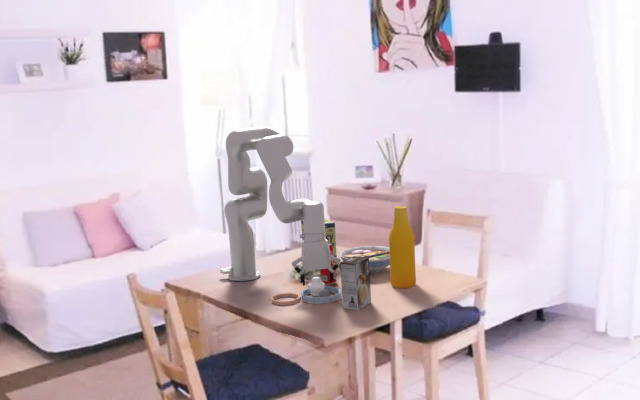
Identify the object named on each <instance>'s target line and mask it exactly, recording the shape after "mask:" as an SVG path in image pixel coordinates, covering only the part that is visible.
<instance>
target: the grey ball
mask: <svg viewBox="0 0 640 400" xmlns="http://www.w3.org/2000/svg"><path fill="white" fill-rule="evenodd" d="M329 296H330V292H328V291H327V290H322V291H321V292H320V293H319V297H329Z"/></svg>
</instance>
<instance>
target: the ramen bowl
mask: <svg viewBox="0 0 640 400" xmlns="http://www.w3.org/2000/svg"><path fill="white" fill-rule="evenodd" d="M339 256H340V258H341V260H342V261H344V260H346V259H348V258H350V257H353V256H357V257H369V270H370V274H374V273H378V272H379V271H381V270H384V269H386V268H387V267H390V252H389V247H388V246H384V245H365V246H364V245H363V246H356V247H351V248H347V249H343V250H342V251H341V252H339Z"/></svg>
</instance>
